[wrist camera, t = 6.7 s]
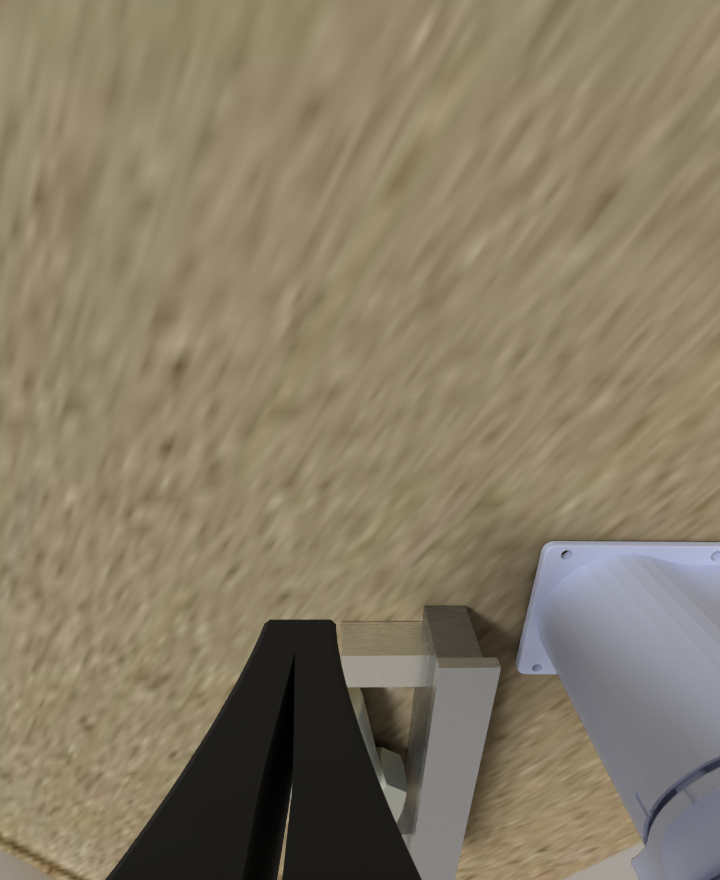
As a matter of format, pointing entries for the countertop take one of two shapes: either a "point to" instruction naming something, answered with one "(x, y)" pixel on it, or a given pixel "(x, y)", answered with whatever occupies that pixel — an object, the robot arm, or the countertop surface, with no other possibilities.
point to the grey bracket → (431, 721)
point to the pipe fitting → (381, 759)
